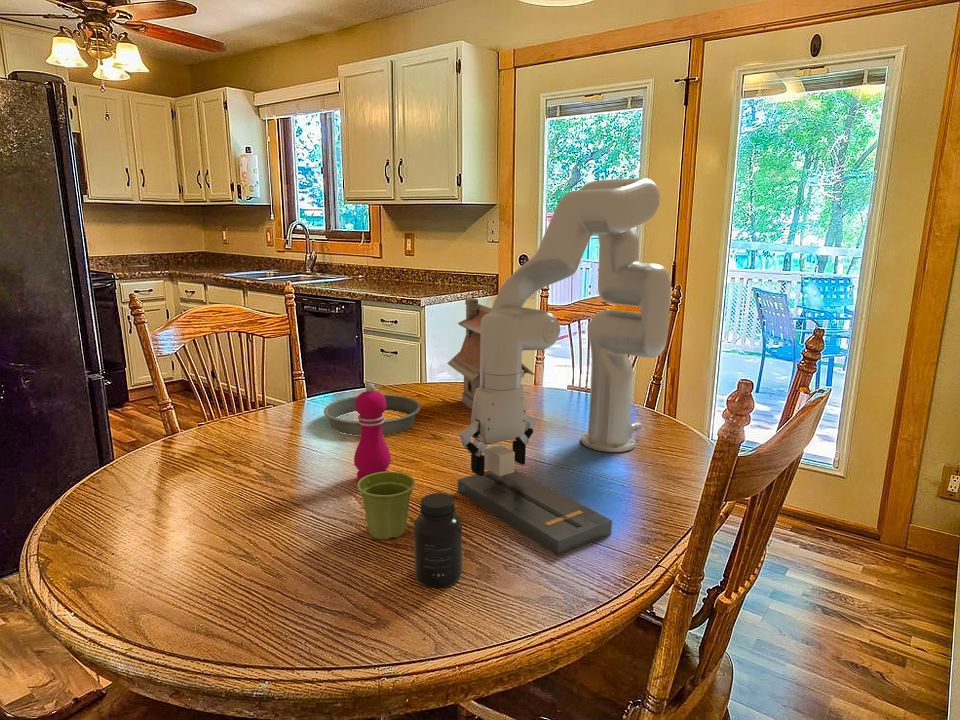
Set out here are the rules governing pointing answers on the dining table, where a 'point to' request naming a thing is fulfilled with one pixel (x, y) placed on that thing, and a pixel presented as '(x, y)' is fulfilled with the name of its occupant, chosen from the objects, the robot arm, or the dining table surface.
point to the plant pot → (386, 502)
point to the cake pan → (388, 426)
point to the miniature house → (472, 350)
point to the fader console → (536, 510)
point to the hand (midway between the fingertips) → (498, 468)
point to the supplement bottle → (438, 542)
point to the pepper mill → (371, 434)
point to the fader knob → (499, 460)
